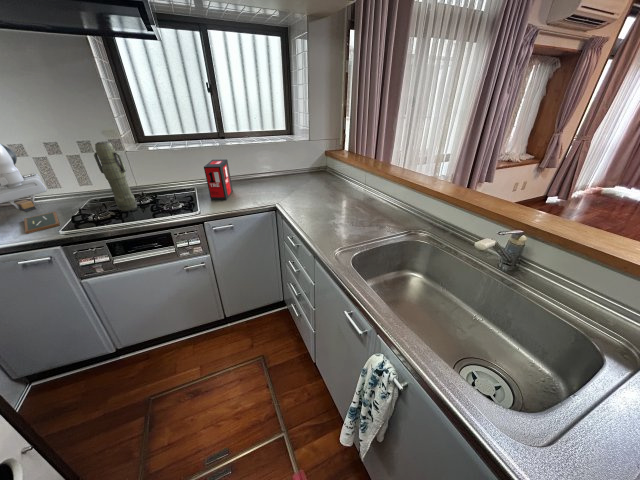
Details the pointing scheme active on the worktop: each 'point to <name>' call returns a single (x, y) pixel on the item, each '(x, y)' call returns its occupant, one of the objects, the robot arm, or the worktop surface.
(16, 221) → the worktop surface
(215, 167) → the cleaning product box
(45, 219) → the board
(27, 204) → the eraser
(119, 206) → the thermos
